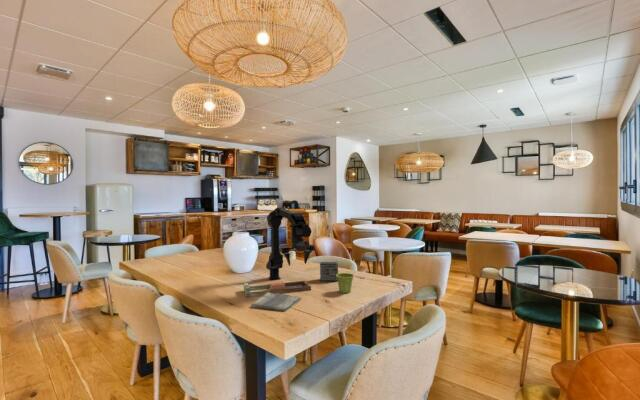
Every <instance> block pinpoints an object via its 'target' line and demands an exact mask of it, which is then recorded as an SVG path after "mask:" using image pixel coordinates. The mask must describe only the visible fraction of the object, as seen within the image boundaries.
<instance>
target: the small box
mask: <svg viewBox="0 0 640 400" xmlns="http://www.w3.org/2000/svg"><path fill="white" fill-rule="evenodd" d="M319 269H320V270H319V275H320V277H319V278H320V279H319V280H320V281H319V282H321V283H322V282H326V283H327V282H335V283H336V282H337V283H338V279H337V276H336V275H337V274H339V262H338V261H331V262H330V261H323V262H322V261H321V262H320V263H319Z"/></svg>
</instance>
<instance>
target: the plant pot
mask: <svg viewBox="0 0 640 400" xmlns="http://www.w3.org/2000/svg"><path fill="white" fill-rule="evenodd" d="M336 276H337V279H338V282H337V284H338V292H340V293H341V294H347V293H348V294H349V293H351V292H352V286H353V279H354V278H355V275H354V274H353V273H350V272H338V274H337V275H336Z"/></svg>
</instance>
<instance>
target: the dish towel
mask: <svg viewBox="0 0 640 400" xmlns="http://www.w3.org/2000/svg"><path fill="white" fill-rule="evenodd" d="M301 300H302V297H300V296H298V295H290V294H286V293H280V294H279V293H276V294H273V293H269V292H267V293H266V294H265V295H263V296H260V298H258V299H257V300H255V301H254V302H253V303H251V305H250V308H252V309H259V310H269V311H275V312H283V313H285V312H287V311H288V310H289V309H291V308H293V307H294V306H295V305H296V304H298V303H299V302H300V301H301Z"/></svg>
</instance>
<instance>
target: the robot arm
mask: <svg viewBox="0 0 640 400" xmlns="http://www.w3.org/2000/svg"><path fill="white" fill-rule="evenodd" d="M284 218H285V219H287V222H288V223H290V225H289V228H291V229H290V230H291V237H290V240H291V247H288V246H280V229H279V228H280V226H281V225H282V220H283V219H284ZM266 221H267V225H268V226H269V228H270V248H271V251H270V254H269V255H268V261H267V263H266V265H265V267H266V269H267V270H269V276H268V279H269V280H270V281H272V280H275V281H276V280H280V279H281V277H280V269H282V268H283V266H284V257H285V259H286V261H287V264H288V266H289V267H290V266H291V258H290V257H291V253H290V252H294V251H297V252H303V258H304V259H303V262H304V264H305V265H306V264H307V262H308V259H309V256H310V254H311V253H313V251H315V250H316V249H315V245H314V244H310V241H309V240H306V241H304V238H309V237H311V235H312V229H311V227H310V226H309V224H308V223H307V221H306V219H305V216H304V214H303V213H302V212H293V211H290V210H288V209H286V208H284V207H276V208H275V209H274V210H273V211H270V212H269V214H268V215H267V217H266Z"/></svg>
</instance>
